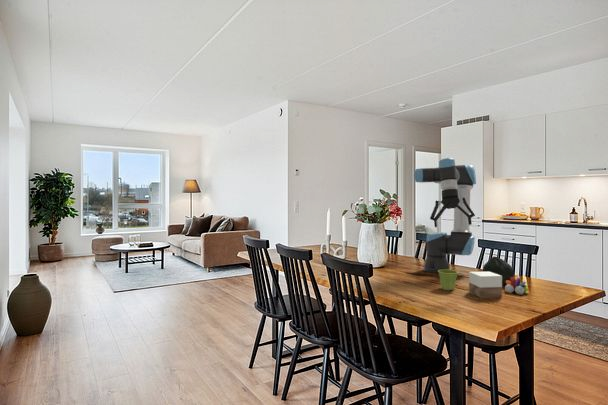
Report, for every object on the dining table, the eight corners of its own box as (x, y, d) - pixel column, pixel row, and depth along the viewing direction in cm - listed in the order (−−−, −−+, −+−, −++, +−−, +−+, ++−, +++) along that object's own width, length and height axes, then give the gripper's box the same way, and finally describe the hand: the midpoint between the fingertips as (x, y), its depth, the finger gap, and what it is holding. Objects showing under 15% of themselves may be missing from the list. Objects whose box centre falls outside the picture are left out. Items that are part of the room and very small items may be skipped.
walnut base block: (469, 292, 179) (469, 282, 179) (489, 292, 180) (489, 282, 180) (480, 298, 169) (480, 287, 169) (501, 298, 170) (502, 287, 170)
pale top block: (469, 282, 179) (469, 271, 179) (489, 282, 180) (489, 271, 180) (480, 287, 169) (480, 276, 169) (502, 287, 170) (502, 275, 170)
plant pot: (456, 292, 179) (456, 274, 179) (435, 289, 184) (435, 272, 184) (460, 288, 187) (460, 270, 187) (440, 285, 192) (440, 268, 192)
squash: (515, 271, 202) (495, 249, 204) (523, 278, 187) (501, 254, 189) (493, 287, 205) (473, 266, 207) (499, 295, 191) (477, 272, 193)
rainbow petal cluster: (508, 289, 185) (508, 274, 185) (530, 293, 178) (530, 277, 178) (502, 292, 179) (502, 277, 179) (525, 296, 172) (525, 280, 172)
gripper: (421, 191, 189) (425, 234, 186) (476, 185, 177) (481, 230, 173) (425, 194, 196) (428, 235, 192) (477, 187, 183) (482, 231, 180)
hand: (453, 233), depth 183 cm, fingers open, 13 cm apart
